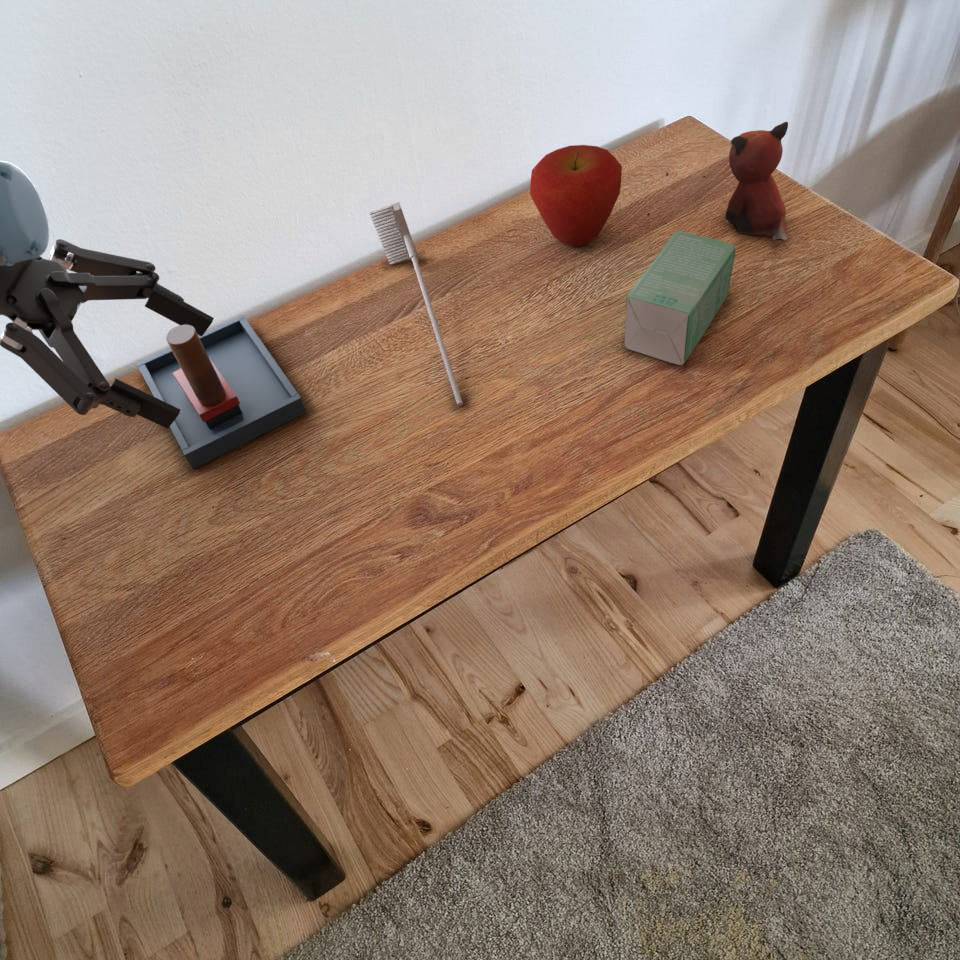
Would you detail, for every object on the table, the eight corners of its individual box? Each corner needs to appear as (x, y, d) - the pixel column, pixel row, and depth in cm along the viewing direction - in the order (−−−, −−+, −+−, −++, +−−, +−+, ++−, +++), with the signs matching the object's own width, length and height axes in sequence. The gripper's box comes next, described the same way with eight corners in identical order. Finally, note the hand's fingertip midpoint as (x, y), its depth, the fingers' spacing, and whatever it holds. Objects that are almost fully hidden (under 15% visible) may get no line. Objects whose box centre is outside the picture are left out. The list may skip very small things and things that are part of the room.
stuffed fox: (762, 261, 100) (780, 171, 90) (704, 217, 106) (715, 128, 97) (812, 238, 101) (834, 148, 92) (752, 196, 108) (767, 107, 99)
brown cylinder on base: (244, 413, 92) (206, 333, 83) (208, 431, 90) (165, 353, 81) (216, 372, 96) (177, 292, 87) (181, 389, 95) (138, 310, 86)
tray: (306, 412, 92) (301, 397, 90) (192, 468, 88) (184, 455, 87) (248, 328, 102) (242, 314, 100) (144, 376, 98) (136, 362, 97)
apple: (602, 205, 110) (603, 119, 101) (632, 251, 104) (637, 162, 94) (523, 226, 109) (516, 140, 100) (548, 273, 103) (544, 186, 93)
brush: (440, 436, 94) (421, 391, 86) (389, 264, 107) (368, 211, 99) (472, 425, 94) (455, 379, 86) (417, 255, 107) (398, 201, 99)
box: (730, 294, 97) (738, 240, 91) (684, 368, 90) (690, 315, 84) (671, 278, 100) (675, 225, 94) (622, 349, 93) (624, 296, 87)
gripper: (15, 209, 86) (205, 313, 96) (-98, 378, 71) (143, 481, 81) (37, 158, 81) (234, 273, 91) (-80, 328, 66) (173, 444, 76)
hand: (192, 371), depth 86 cm, fingers open, 13 cm apart
